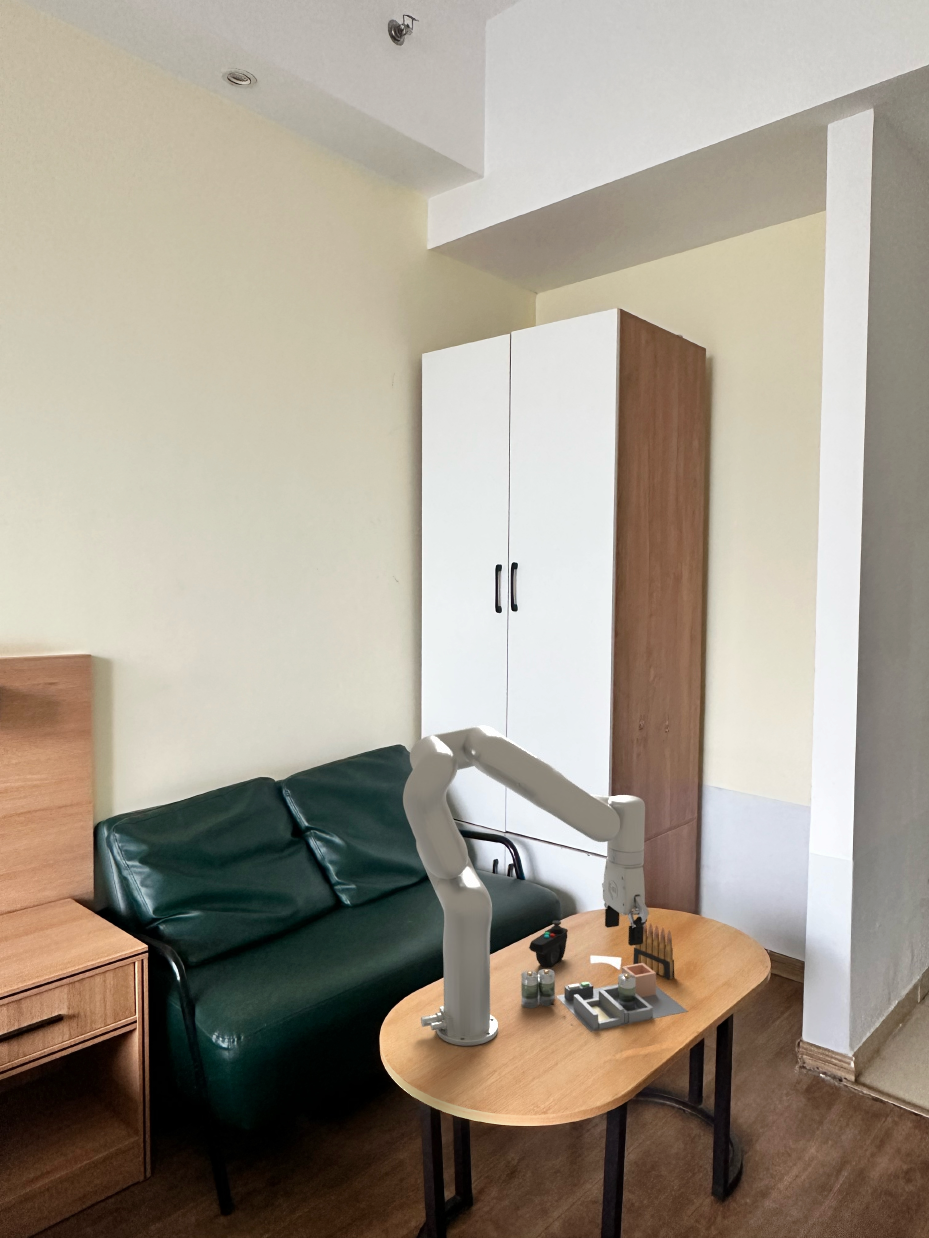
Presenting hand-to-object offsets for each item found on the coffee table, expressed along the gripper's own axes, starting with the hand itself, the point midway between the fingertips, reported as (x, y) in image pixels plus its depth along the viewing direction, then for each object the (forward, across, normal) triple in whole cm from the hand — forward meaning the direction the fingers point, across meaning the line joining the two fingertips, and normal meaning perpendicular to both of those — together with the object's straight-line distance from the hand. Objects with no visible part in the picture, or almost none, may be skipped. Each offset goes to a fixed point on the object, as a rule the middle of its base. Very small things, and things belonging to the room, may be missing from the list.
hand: (623, 935), depth 187 cm
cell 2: (+17, -10, -13) cm, 24 cm away
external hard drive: (+18, -18, +6) cm, 26 cm away
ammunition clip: (+17, -13, +16) cm, 26 cm away
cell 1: (+17, -10, -17) cm, 26 cm away
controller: (+17, -25, -5) cm, 31 cm away
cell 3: (+16, 0, +1) cm, 16 cm away
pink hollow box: (+16, -5, +7) cm, 18 cm away
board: (+17, -2, +1) cm, 17 cm away
